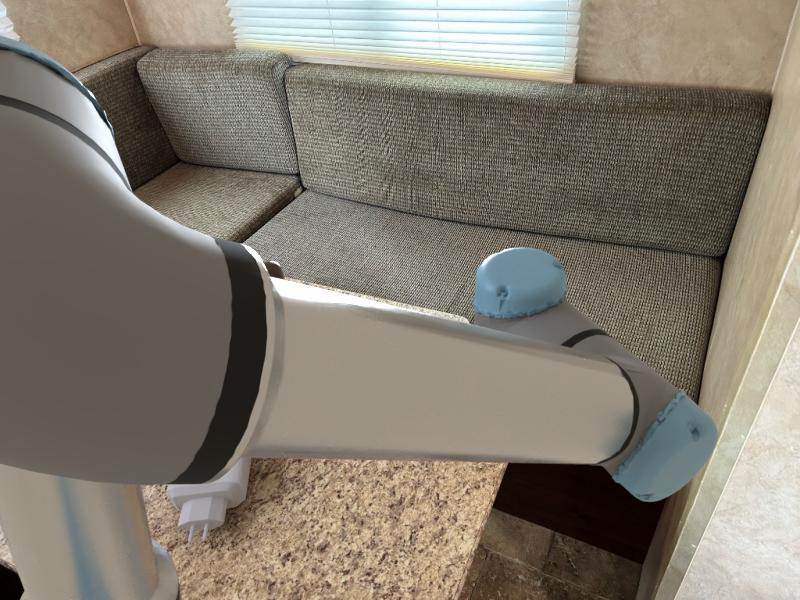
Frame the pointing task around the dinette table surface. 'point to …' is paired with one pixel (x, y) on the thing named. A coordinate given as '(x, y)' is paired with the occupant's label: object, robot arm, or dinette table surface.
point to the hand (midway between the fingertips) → (249, 316)
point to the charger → (210, 499)
